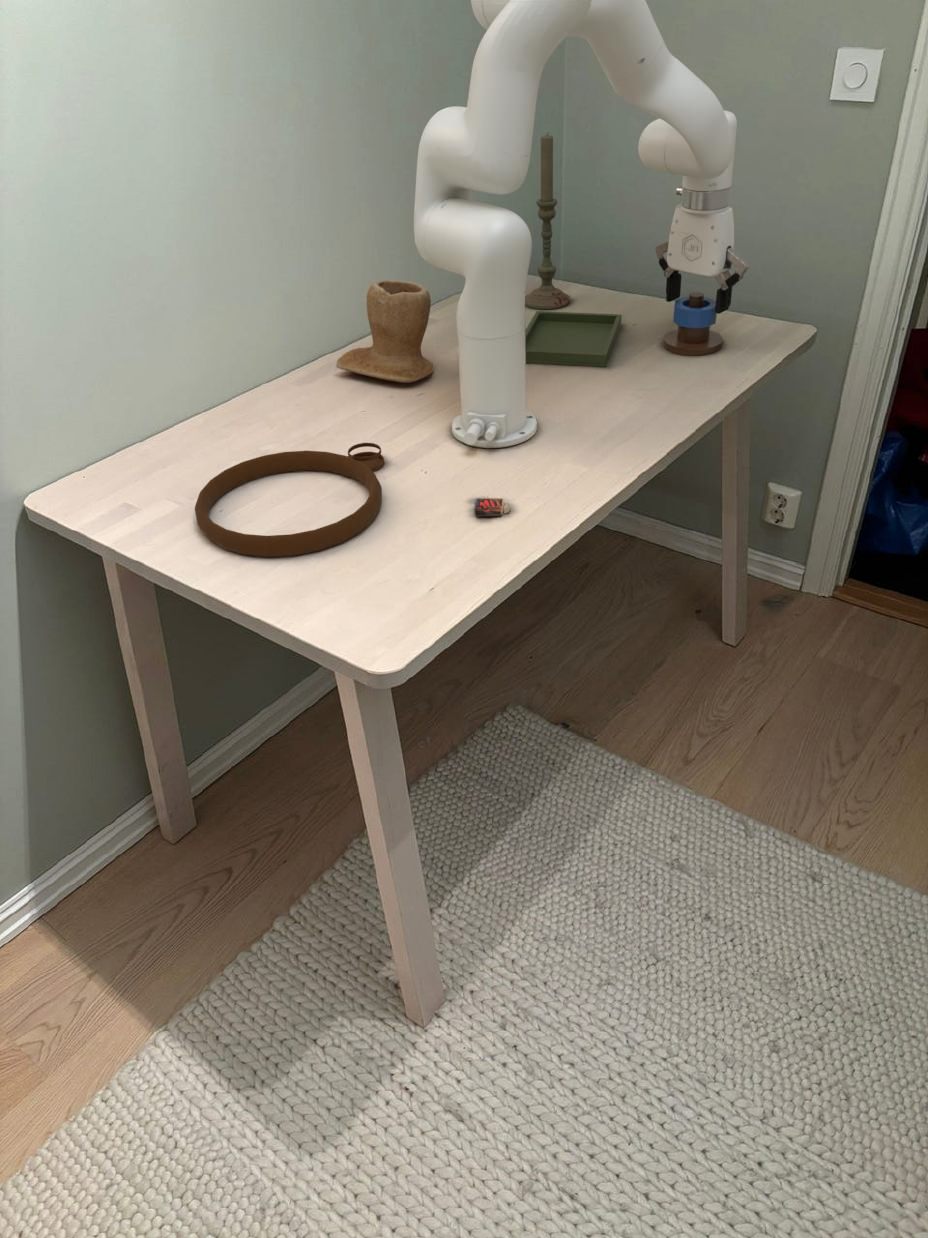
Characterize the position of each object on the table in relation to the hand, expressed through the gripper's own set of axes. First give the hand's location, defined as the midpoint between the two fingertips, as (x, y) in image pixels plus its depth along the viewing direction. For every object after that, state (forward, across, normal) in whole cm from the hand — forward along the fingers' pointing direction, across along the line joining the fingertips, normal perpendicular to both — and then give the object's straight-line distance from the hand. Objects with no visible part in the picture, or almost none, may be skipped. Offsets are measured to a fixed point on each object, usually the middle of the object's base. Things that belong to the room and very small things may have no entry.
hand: (697, 305), depth 169 cm
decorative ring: (+6, -8, -78) cm, 79 cm away
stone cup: (+6, -32, -41) cm, 52 cm away
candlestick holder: (+7, -35, +2) cm, 35 cm away
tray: (+7, -17, -13) cm, 22 cm away
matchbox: (+6, +12, -64) cm, 65 cm away
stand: (+7, 0, 0) cm, 7 cm away
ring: (+3, 0, 0) cm, 3 cm away
